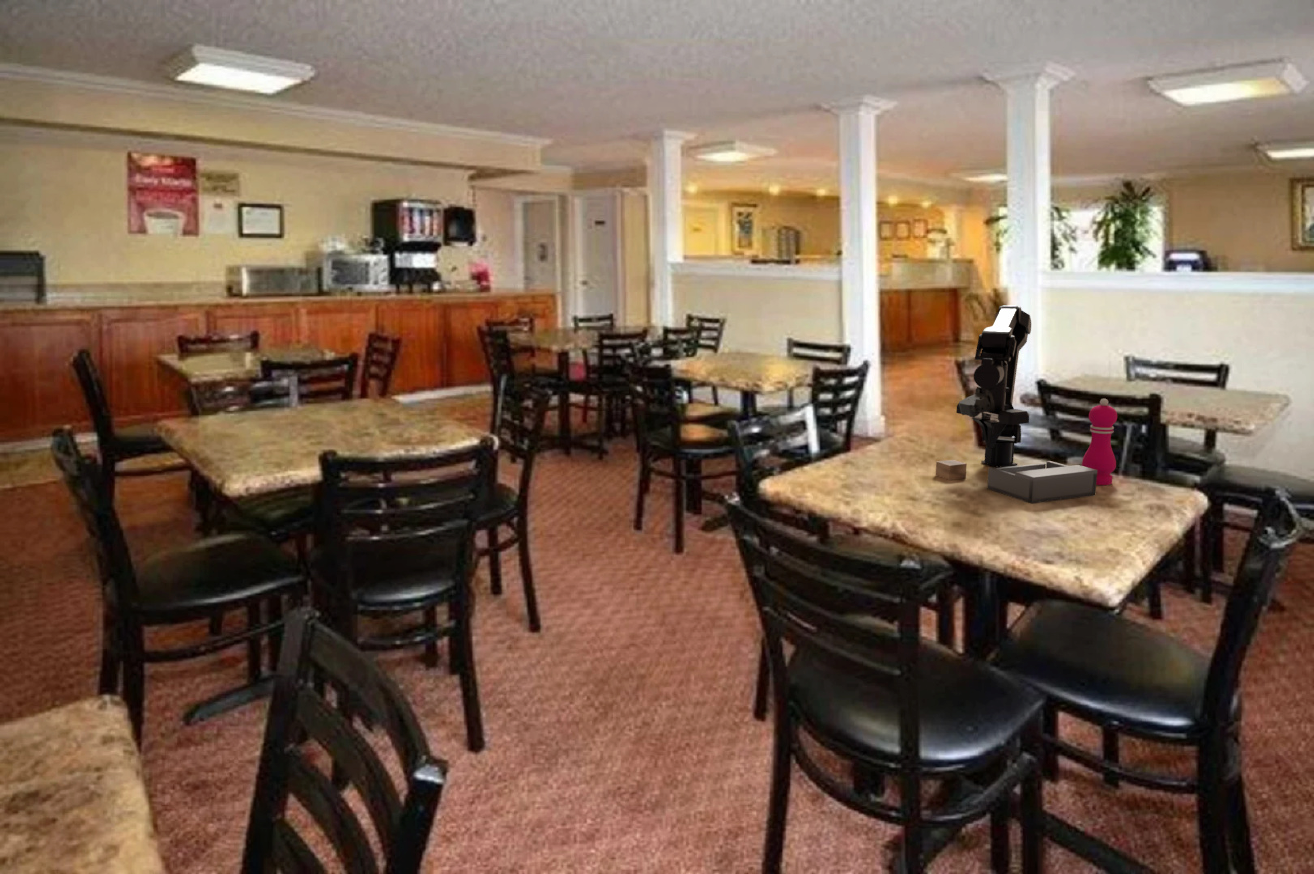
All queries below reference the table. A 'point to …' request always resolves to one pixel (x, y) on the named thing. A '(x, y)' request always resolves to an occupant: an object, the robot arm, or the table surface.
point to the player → (1045, 482)
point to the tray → (1023, 468)
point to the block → (951, 469)
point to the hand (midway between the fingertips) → (989, 447)
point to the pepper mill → (1101, 442)
